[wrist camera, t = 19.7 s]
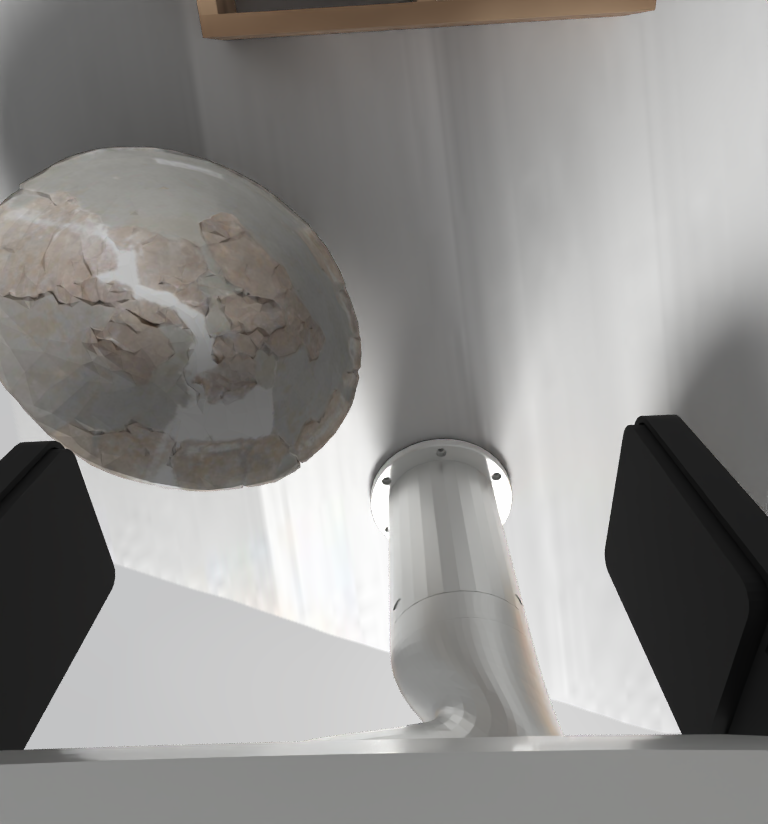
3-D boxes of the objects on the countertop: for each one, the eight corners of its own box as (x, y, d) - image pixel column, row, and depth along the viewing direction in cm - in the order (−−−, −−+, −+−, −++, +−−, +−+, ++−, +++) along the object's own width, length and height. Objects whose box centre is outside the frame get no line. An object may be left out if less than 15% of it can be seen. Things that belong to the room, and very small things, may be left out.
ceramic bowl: (8, 127, 39) (-98, 146, 30) (362, 128, 39) (357, 147, 30) (92, 419, 50) (32, 494, 42) (367, 419, 50) (364, 494, 42)
